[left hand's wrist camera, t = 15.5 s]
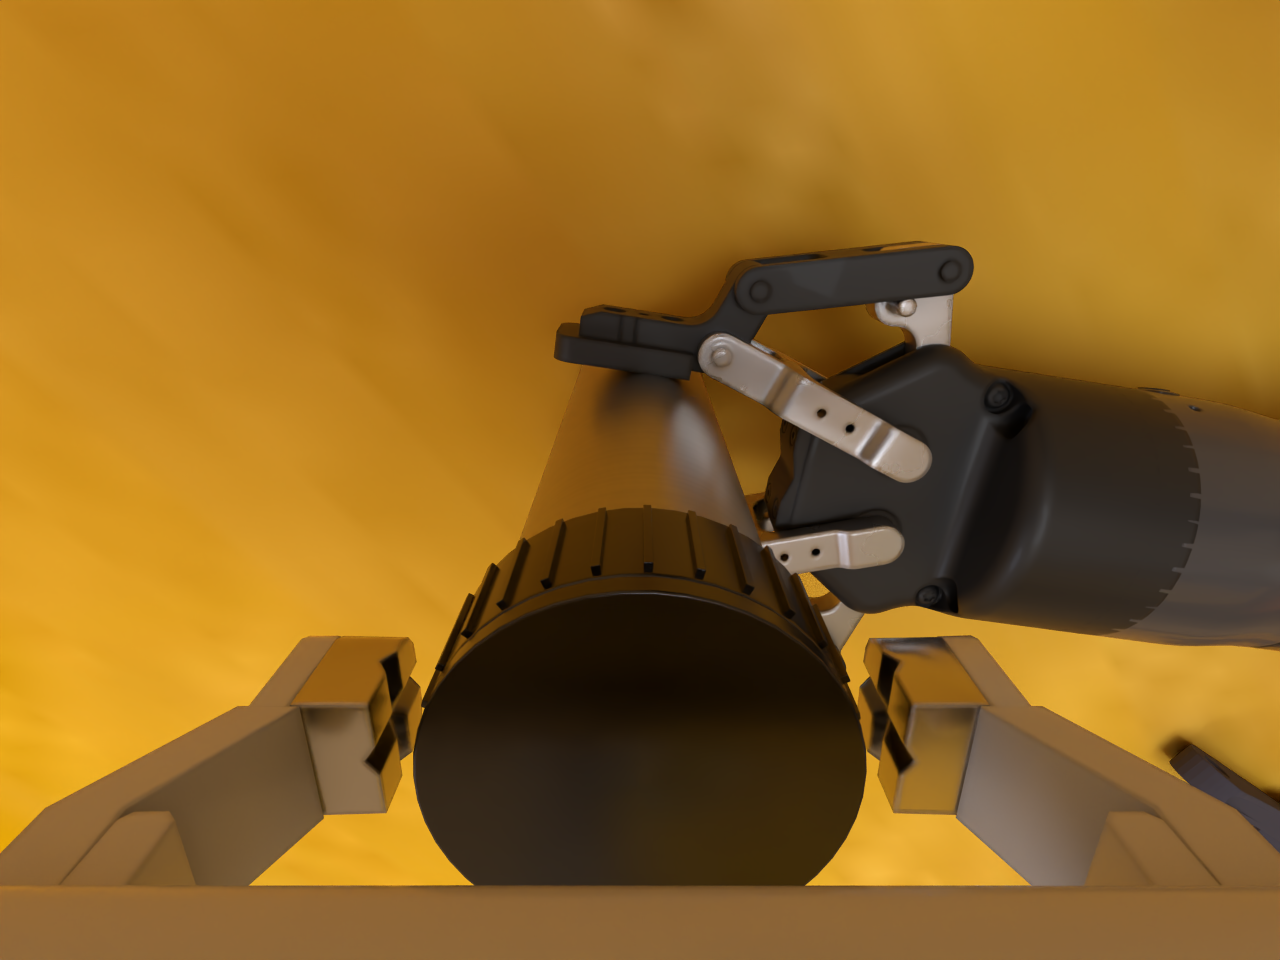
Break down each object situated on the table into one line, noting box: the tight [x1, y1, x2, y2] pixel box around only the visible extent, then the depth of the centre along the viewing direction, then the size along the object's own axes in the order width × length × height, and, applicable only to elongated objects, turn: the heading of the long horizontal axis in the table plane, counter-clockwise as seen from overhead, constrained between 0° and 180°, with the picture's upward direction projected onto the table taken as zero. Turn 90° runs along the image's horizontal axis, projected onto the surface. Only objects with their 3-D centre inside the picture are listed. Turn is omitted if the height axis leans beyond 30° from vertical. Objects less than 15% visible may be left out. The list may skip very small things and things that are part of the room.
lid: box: [413, 505, 867, 886], centre depth 9 cm, size 6×6×2 cm
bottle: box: [520, 365, 762, 546], centre depth 18 cm, size 5×5×19 cm
